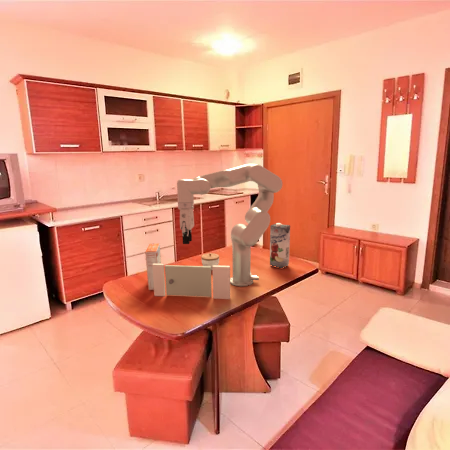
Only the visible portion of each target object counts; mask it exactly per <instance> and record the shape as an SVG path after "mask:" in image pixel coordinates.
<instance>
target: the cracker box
mask: <svg viewBox="0 0 450 450" xmlns="http://www.w3.org/2000/svg"><path fill="white" fill-rule="evenodd" d="M160 244H161V243H159V242H157V243H148V245H147V247H146V249H145V253H144V255H145V264H146V265H145V266H146V273H147V274H146V276H147V289H148V291H154V281H153V266H152V265H153V264H154V263H155V264H162V259H161V258H162V257H161V245H160Z"/></svg>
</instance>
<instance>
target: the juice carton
mask: <svg viewBox="0 0 450 450" xmlns="http://www.w3.org/2000/svg"><path fill="white" fill-rule="evenodd" d="M269 226H270V231H269V232H270V234H269V239H270V240H269V266H270V265H272V266H276V267H279V268H283V267H285V266H288V267H289V264H290V247H291V246H290V245H291V242H290V241H291V225H289V224H282V223H281V222H276V223H273V224H271V225H269ZM272 266H271V267H272ZM276 267H275V268H276ZM279 268H278V269H279ZM285 268H286V267H285ZM283 269H284V268H283Z"/></svg>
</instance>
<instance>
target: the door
mask: <svg viewBox="0 0 450 450" xmlns="http://www.w3.org/2000/svg"><path fill="white" fill-rule="evenodd" d="M164 277H165V294H166V295H165V296H176V297H177V296H180V297H184V296H185V297H199V298H200V297H203V298H212V297H213V289H212V270H211V267H210V266H203V265H178V264H177V265H176V264H175V265H173V264H171V265H170V264H164Z"/></svg>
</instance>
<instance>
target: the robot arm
mask: <svg viewBox="0 0 450 450" xmlns="http://www.w3.org/2000/svg"><path fill="white" fill-rule="evenodd" d="M248 182H254V183H255V184H257V188H258V194H257V195H258V196H257V197H256V198H255V201H254V202H253V203H252V204H251V206H250V207H249V208H248V210H247V211H246V212H245V214H244V221H245V222H246V223H247V224H244V223H237V224H235V225H234V226H233V227H232V229H231V231H230V239H231V243H232V244H231V245H232V246H231V247H232V277H230V285H232V286H236V287H248V285H249V286H251V285H253V283H254V281H259V280H260V276H257V275H256V274H254V275H253V274H252V272H251V264H252V263H251V251H252V250H251V247H253V246H254V245H256V244H257V242H258V241H259V240H260V239H261V238H262V236H263V235H264V234H265V232H266V231H267V229H268V228H269V226H270V224H271V215H270V213H269V210H270V209H271V207H272V205H273V204H274V197H275V196H274V195H275V194H276V193H278V192H280V191H281V190H282V189H283V180H282V179H281V177H280V176H279V175H277V174H276V173H274V172H272V171H270V170H268V169H267V168H265V166H263V165H260V164H257V163H246V164H243V165H239V166H235V167H232V168H231V167H230V168H228V169H223V170H220V171H216V172H212V173H207V174H203V175H199V176H197V177H194V178H192V179H190V178H181V179H178V180H177V181H176V189H177V190H176V192H177V209H178V210H179V228H180V230H181V234H182V244H183V245H189V244H190V243H191V242H192V241H193V239H192V238H193V237H192V236H193V235H192V229H193V228H194V227H195V216H194V215H195V214H194V209H195V201H194V198H195V197H194V196H195V195H206V194H208V193H209V192H210V191H211V189H214V188H231V187H234V186H237V185H240V184H241V185H242V184H245V183H248ZM274 193H275V194H274Z"/></svg>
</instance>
